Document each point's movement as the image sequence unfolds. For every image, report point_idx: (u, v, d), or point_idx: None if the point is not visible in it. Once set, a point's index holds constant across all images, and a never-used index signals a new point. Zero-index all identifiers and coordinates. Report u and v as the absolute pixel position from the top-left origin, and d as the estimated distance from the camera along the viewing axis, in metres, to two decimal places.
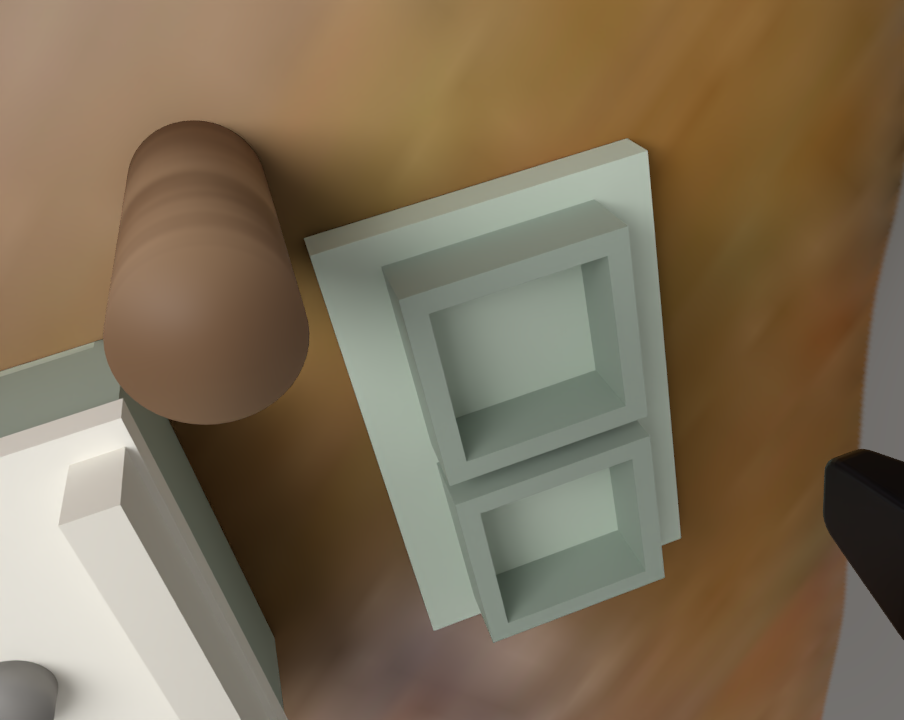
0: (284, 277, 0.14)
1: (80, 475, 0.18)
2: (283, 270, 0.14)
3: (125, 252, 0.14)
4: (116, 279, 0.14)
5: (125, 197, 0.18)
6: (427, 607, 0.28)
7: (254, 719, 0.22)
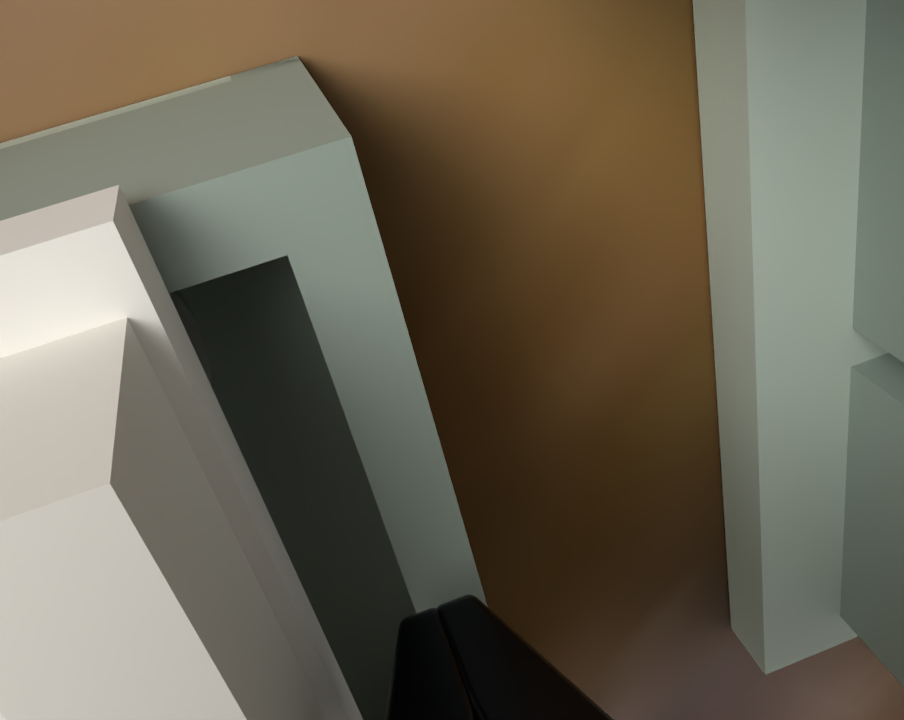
0: None
1: None
2: None
3: None
4: None
5: None
6: (765, 635, 0.16)
7: None
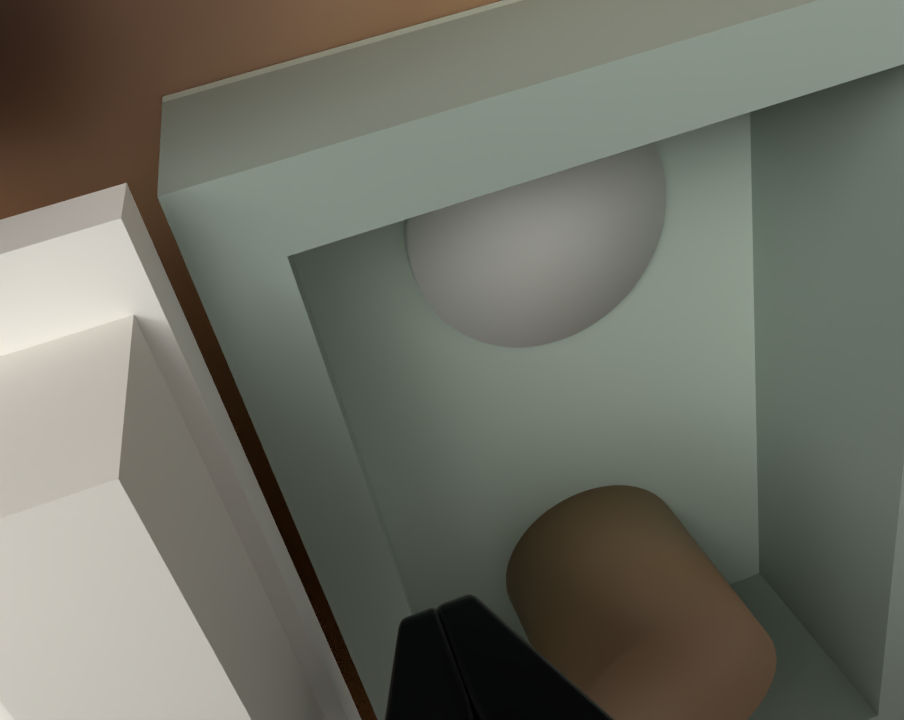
0: None
1: None
2: None
3: None
4: None
5: None
6: None
7: None
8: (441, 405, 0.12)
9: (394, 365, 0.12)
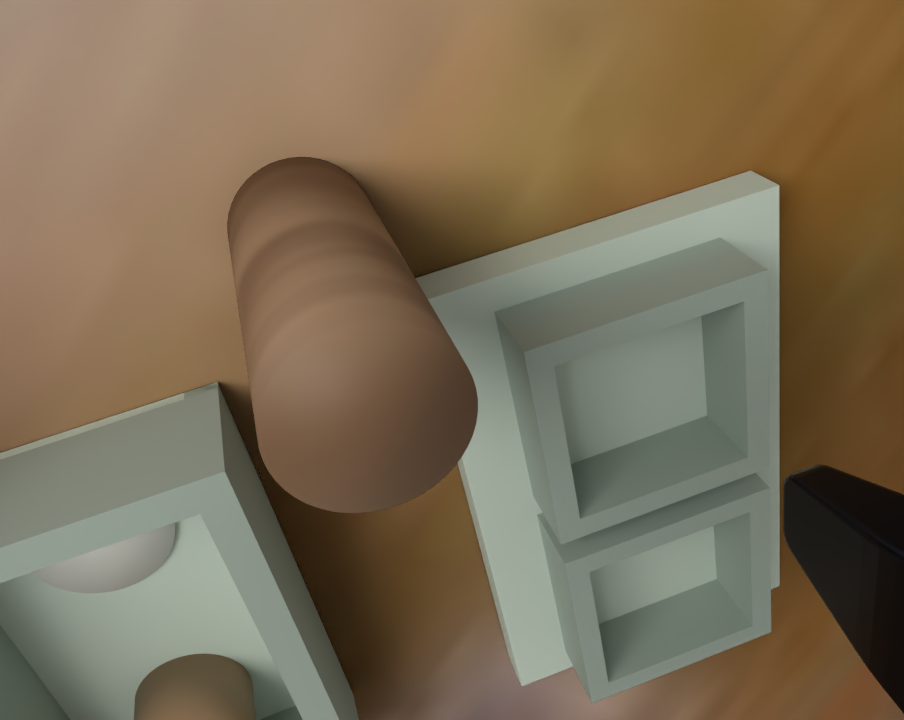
0: (456, 352, 0.12)
1: None
2: (452, 343, 0.12)
3: (271, 321, 0.13)
4: (267, 355, 0.12)
5: (239, 246, 0.16)
6: (516, 662, 0.26)
7: None
8: (64, 621, 0.22)
9: (28, 605, 0.21)
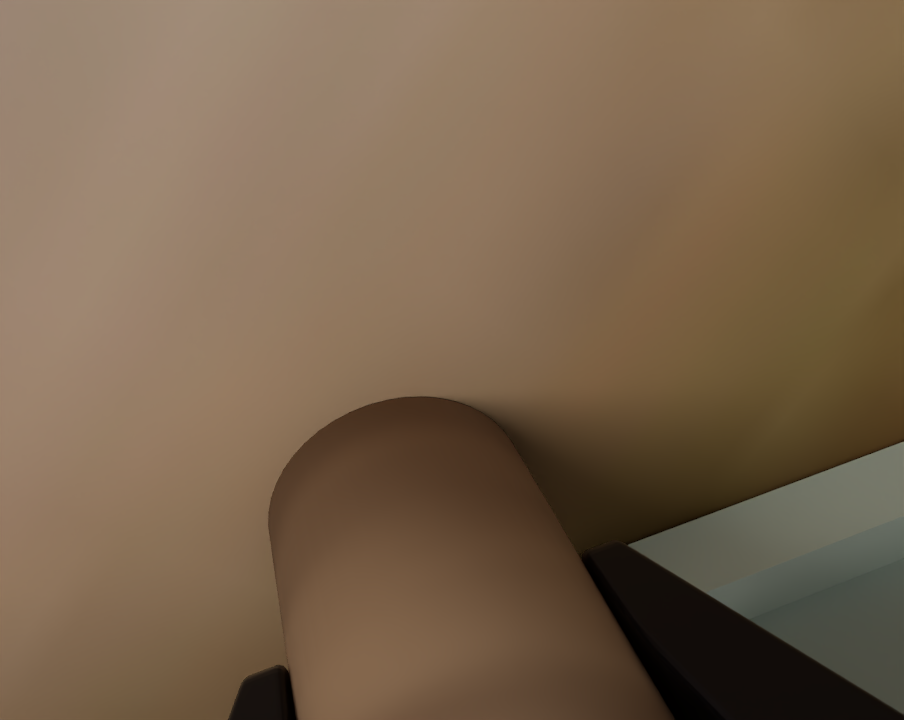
0: None
1: None
2: None
3: None
4: None
5: (306, 647, 0.08)
6: None
7: None
8: None
9: None
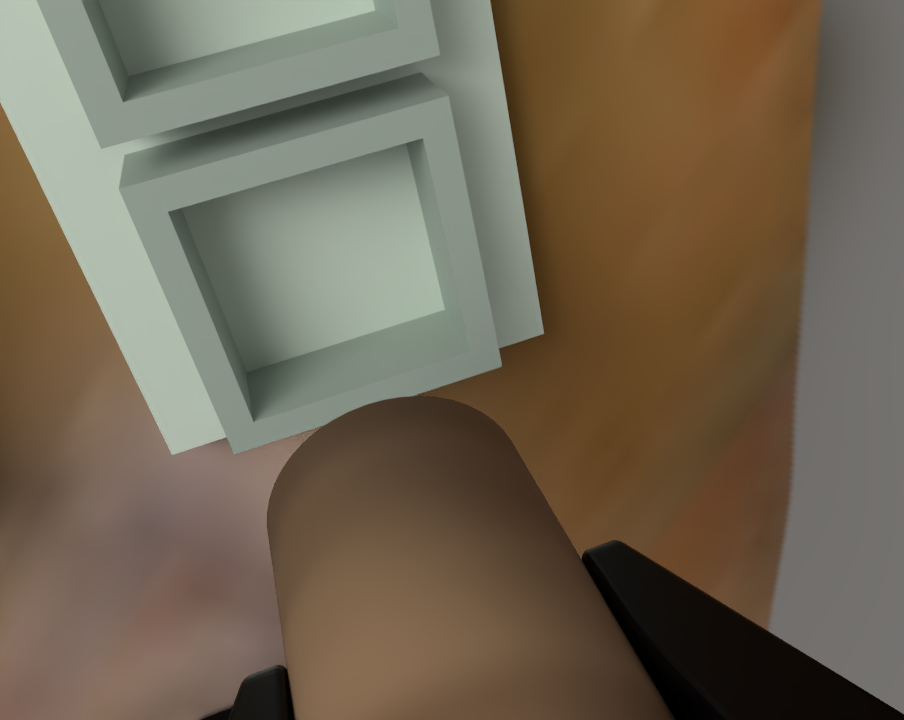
0: None
1: None
2: None
3: None
4: None
5: (305, 648, 0.08)
6: (154, 414, 0.19)
7: None
8: None
9: None
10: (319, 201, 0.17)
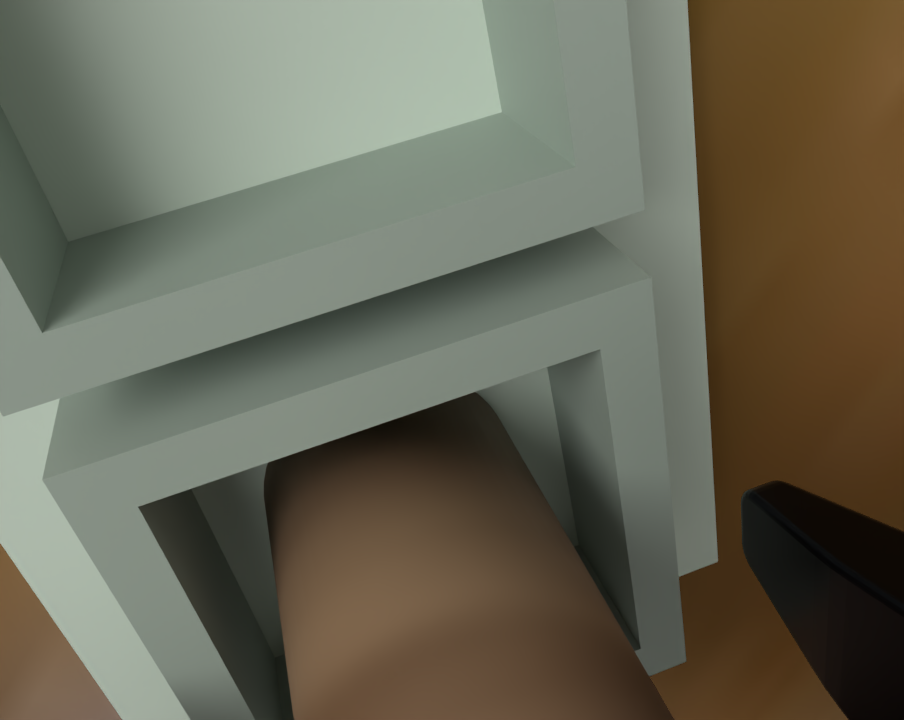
0: None
1: None
2: None
3: None
4: None
5: (297, 601, 0.08)
6: None
7: None
8: None
9: None
10: None
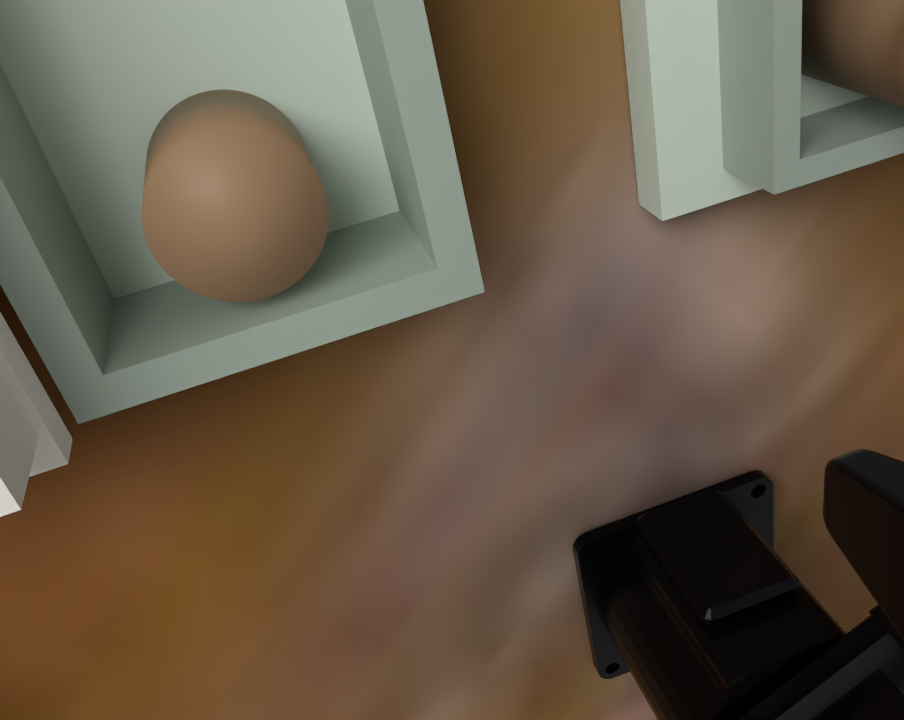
0: None
1: None
2: None
3: None
4: None
5: None
6: (660, 174, 0.19)
7: None
8: None
9: None
10: None
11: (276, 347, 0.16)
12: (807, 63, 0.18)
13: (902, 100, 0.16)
